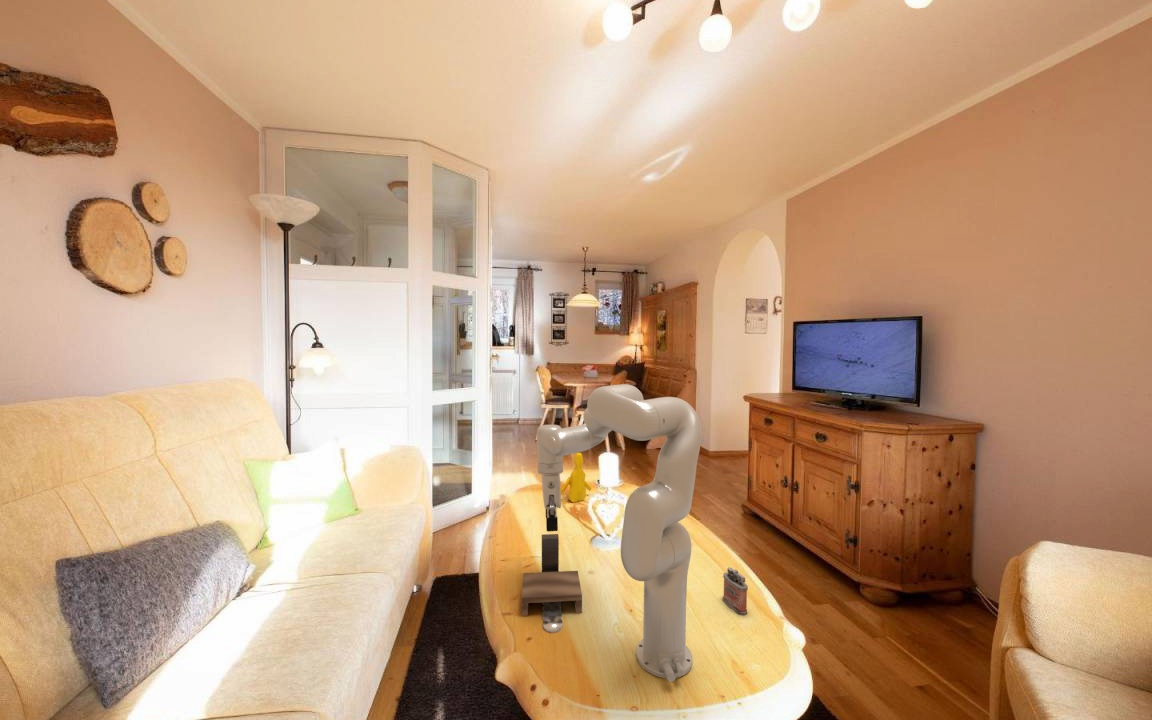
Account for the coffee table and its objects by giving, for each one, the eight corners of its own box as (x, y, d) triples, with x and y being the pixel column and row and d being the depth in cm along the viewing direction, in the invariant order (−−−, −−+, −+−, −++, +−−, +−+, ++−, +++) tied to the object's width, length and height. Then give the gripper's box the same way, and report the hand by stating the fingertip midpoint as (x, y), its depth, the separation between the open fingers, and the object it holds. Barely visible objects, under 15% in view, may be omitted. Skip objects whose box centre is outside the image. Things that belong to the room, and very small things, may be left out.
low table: (581, 612, 116) (582, 594, 116) (521, 616, 115) (521, 597, 114) (577, 587, 128) (577, 570, 128) (522, 589, 127) (522, 573, 126)
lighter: (719, 599, 122) (720, 565, 122) (729, 597, 123) (730, 562, 123) (740, 616, 115) (740, 580, 114) (750, 614, 116) (751, 577, 115)
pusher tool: (561, 619, 114) (562, 566, 113) (542, 620, 113) (542, 567, 112) (558, 578, 133) (558, 533, 132) (541, 579, 132) (541, 534, 131)
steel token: (563, 633, 109) (563, 628, 109) (543, 634, 108) (543, 629, 108) (561, 620, 114) (561, 615, 114) (542, 621, 113) (542, 616, 113)
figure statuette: (588, 494, 204) (589, 447, 203) (597, 499, 197) (597, 451, 196) (554, 500, 196) (554, 452, 194) (562, 506, 189) (562, 456, 187)
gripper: (564, 474, 121) (566, 535, 121) (561, 459, 138) (562, 512, 138) (537, 476, 120) (539, 537, 120) (537, 460, 137) (538, 513, 138)
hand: (551, 524), depth 129 cm, fingers open, 9 cm apart
